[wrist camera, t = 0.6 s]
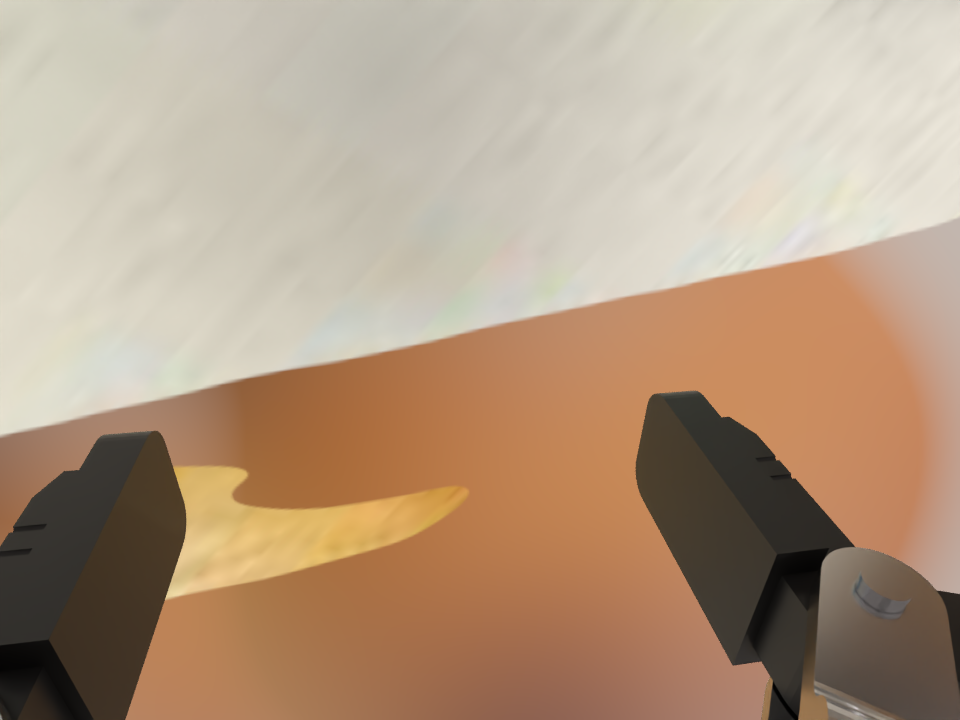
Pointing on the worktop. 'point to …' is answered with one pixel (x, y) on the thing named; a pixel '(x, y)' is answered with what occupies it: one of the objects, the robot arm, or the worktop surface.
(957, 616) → the robot arm
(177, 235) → the worktop surface
